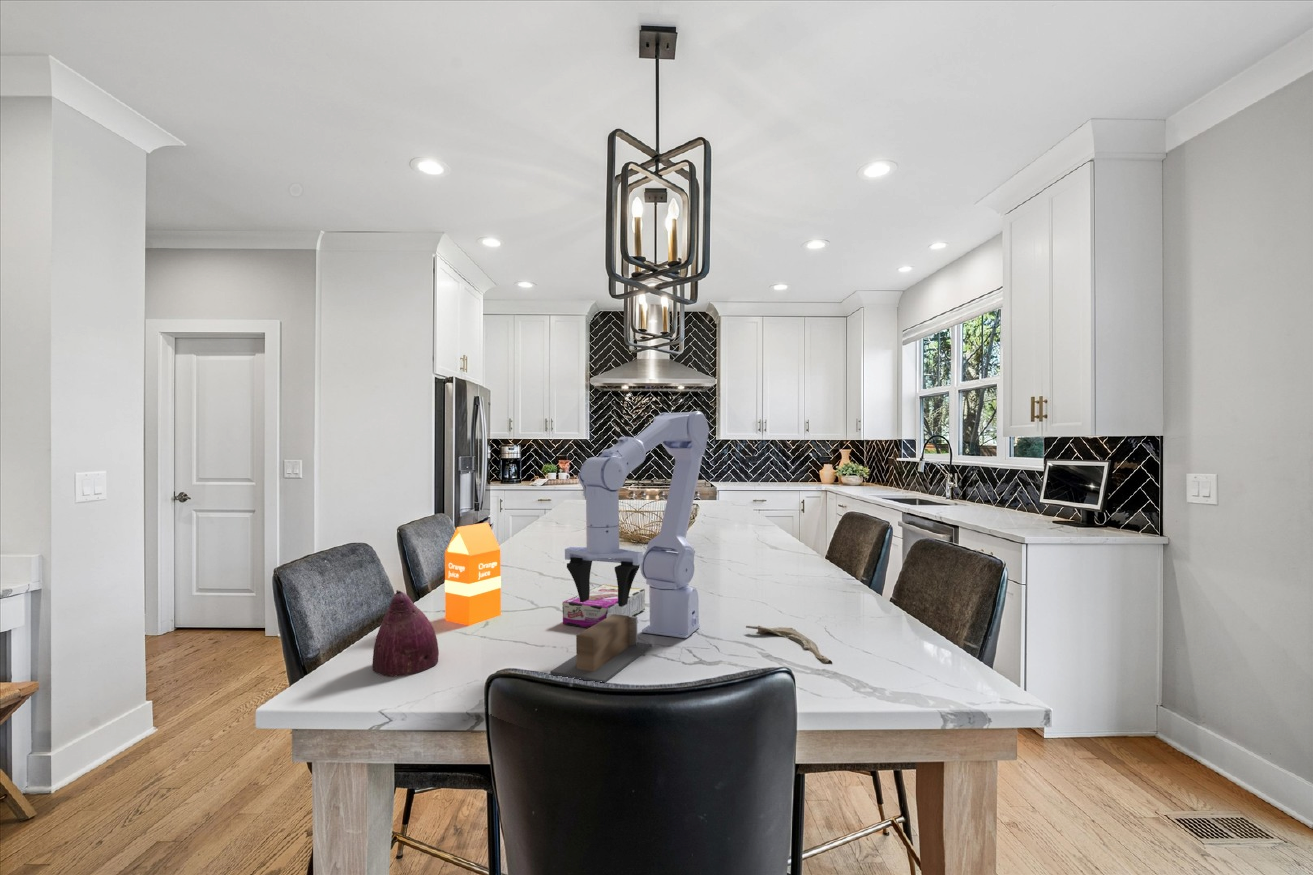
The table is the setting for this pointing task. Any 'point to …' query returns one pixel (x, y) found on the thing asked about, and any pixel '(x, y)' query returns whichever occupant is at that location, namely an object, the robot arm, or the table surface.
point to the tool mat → (605, 670)
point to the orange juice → (472, 575)
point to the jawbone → (794, 639)
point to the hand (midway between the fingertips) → (603, 602)
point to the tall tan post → (605, 641)
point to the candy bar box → (601, 606)
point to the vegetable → (404, 640)
